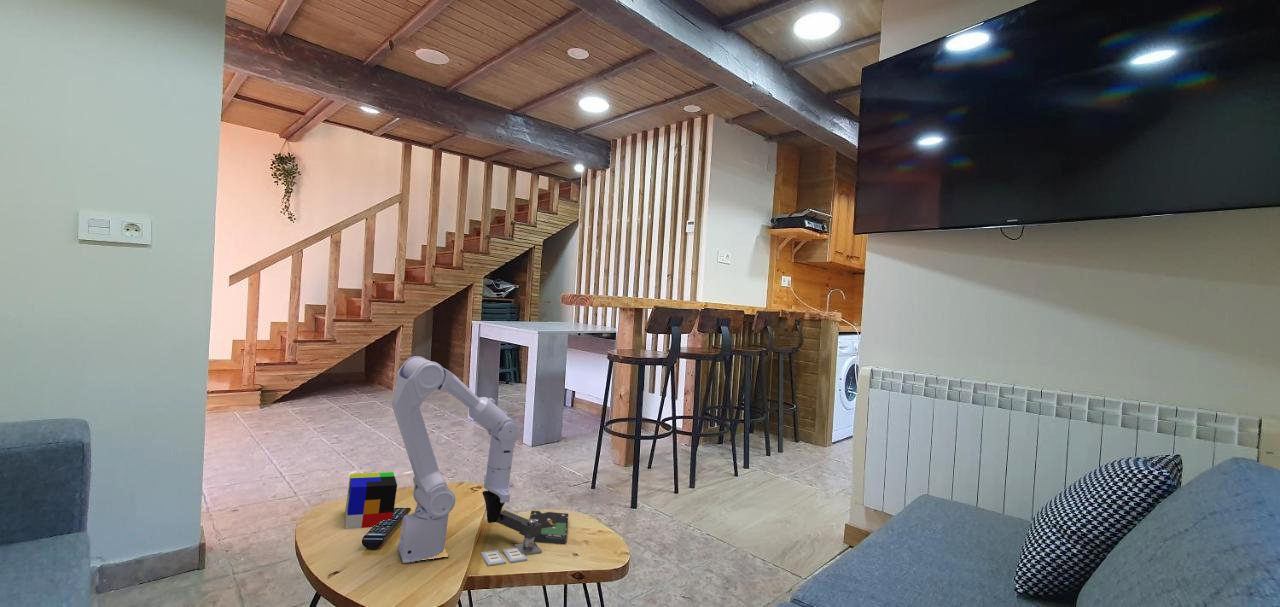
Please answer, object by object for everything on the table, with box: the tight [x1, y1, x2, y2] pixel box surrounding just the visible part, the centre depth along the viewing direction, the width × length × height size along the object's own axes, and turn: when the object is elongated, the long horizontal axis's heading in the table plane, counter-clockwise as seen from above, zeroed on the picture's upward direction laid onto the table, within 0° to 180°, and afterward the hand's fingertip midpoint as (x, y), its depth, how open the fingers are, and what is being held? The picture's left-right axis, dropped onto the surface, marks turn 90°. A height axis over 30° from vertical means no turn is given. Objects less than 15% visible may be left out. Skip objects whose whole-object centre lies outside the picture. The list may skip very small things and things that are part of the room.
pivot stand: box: [513, 518, 543, 556], centre depth 125 cm, size 5×5×7 cm
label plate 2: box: [501, 547, 528, 564], centre depth 122 cm, size 4×6×1 cm, turn 32°
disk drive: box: [529, 510, 569, 546], centre depth 137 cm, size 10×3×15 cm
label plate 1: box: [480, 549, 507, 567], centre depth 119 cm, size 4×6×1 cm, turn 32°
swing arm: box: [495, 508, 542, 538], centre depth 128 cm, size 13×4×2 cm, turn 59°
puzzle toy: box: [344, 471, 398, 530], centre depth 131 cm, size 10×10×10 cm
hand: (492, 521), depth 128 cm, fingers closed
